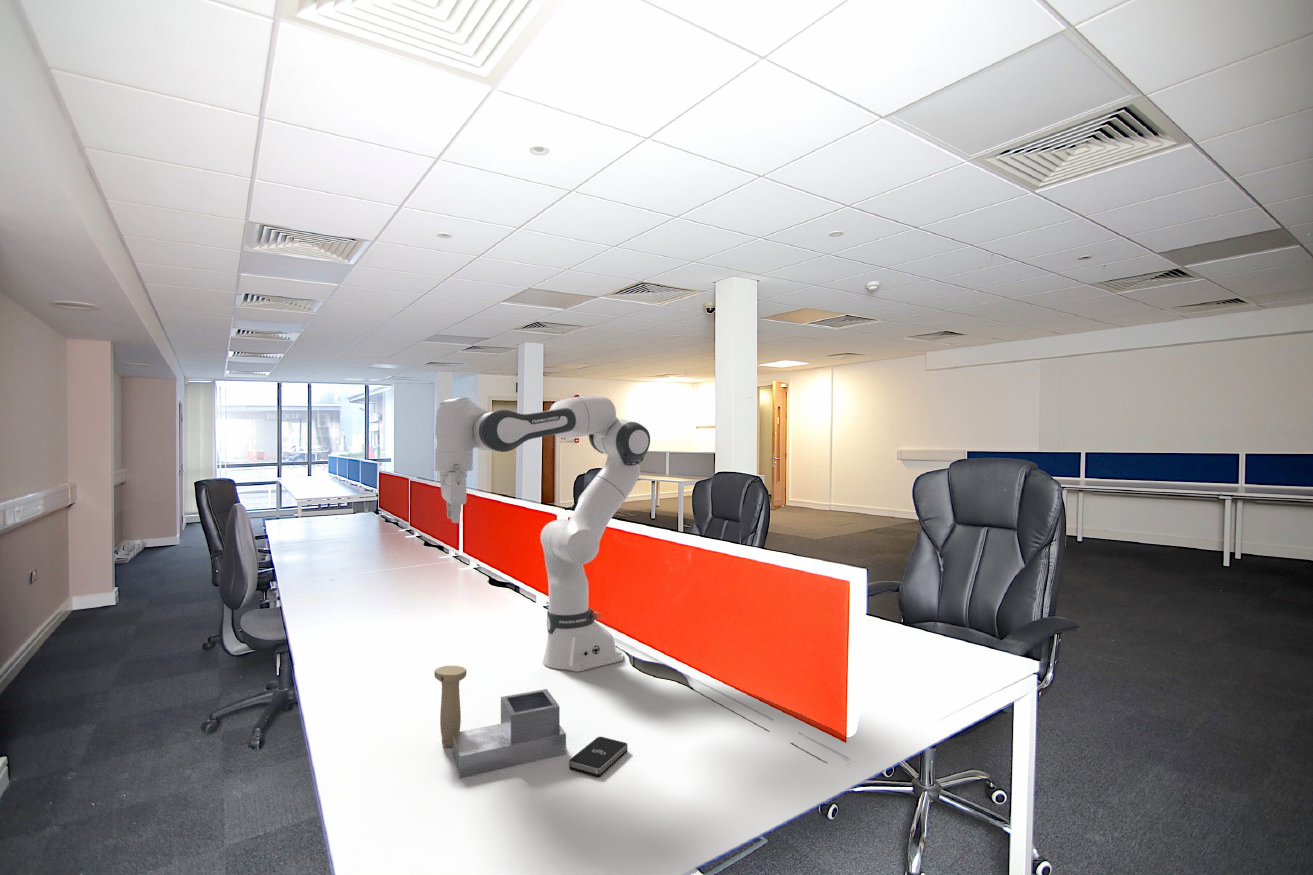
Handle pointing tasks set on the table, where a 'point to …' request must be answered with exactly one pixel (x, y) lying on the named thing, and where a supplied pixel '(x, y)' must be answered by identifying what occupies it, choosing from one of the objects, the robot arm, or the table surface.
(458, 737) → the duct
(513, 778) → the table surface
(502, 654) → the table surface
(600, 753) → the external hard drive
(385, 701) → the table surface
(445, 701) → the handle
